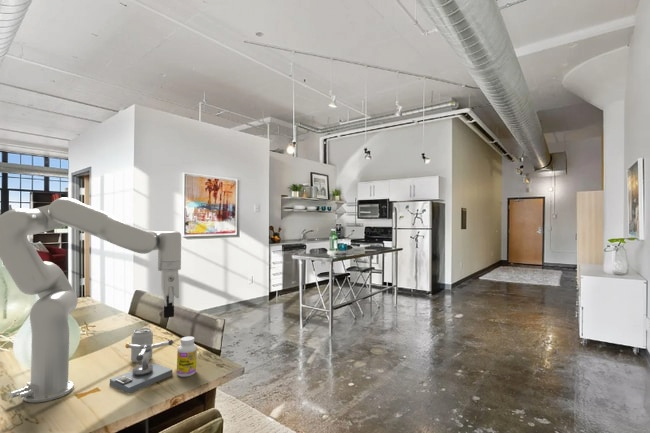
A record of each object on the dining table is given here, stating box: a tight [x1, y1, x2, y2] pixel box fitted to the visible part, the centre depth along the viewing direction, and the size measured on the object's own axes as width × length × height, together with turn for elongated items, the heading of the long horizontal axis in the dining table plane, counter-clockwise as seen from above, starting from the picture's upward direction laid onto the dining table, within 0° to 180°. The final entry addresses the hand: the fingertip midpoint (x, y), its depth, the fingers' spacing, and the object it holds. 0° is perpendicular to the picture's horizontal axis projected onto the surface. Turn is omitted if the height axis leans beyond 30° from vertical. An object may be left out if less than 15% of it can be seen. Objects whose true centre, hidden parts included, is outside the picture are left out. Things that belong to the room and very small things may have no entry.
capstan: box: [125, 339, 174, 376], centre depth 123 cm, size 14×17×10 cm
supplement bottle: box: [176, 335, 198, 378], centre depth 127 cm, size 7×7×13 cm
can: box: [130, 327, 154, 364], centre depth 138 cm, size 8×8×12 cm
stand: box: [109, 362, 173, 395], centre depth 121 cm, size 16×11×4 cm
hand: (168, 316), depth 124 cm, fingers closed
